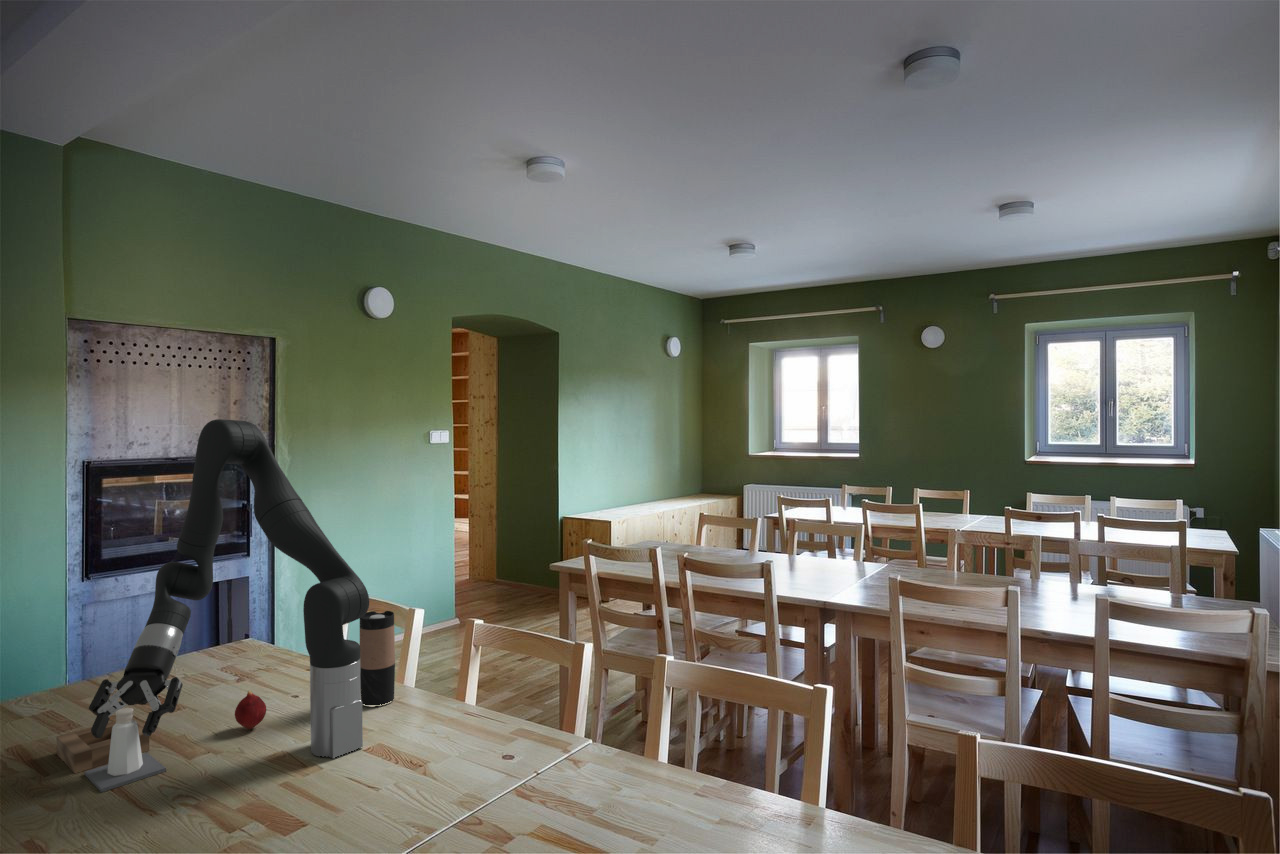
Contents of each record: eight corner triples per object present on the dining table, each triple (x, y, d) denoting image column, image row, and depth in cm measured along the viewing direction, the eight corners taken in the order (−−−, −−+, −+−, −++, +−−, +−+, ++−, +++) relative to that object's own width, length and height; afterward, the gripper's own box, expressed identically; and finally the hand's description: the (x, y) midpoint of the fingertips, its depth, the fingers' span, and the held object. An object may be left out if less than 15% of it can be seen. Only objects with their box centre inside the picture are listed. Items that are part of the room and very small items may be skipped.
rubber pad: (166, 771, 138) (165, 767, 138) (101, 792, 130) (101, 789, 130) (147, 755, 144) (147, 752, 144) (84, 774, 136) (84, 771, 136)
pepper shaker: (145, 769, 137) (144, 710, 137) (109, 779, 133) (108, 718, 133) (140, 759, 141) (140, 701, 141) (105, 768, 137) (104, 709, 137)
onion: (272, 724, 159) (271, 686, 158) (255, 735, 153) (255, 696, 153) (246, 722, 159) (245, 685, 159) (228, 734, 153) (228, 695, 153)
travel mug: (372, 710, 165) (371, 621, 165) (353, 702, 170) (352, 615, 170) (402, 700, 171) (401, 613, 171) (382, 692, 176) (381, 608, 176)
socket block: (149, 750, 146) (149, 732, 146) (74, 773, 137) (74, 754, 137) (129, 733, 154) (128, 717, 154) (56, 754, 144) (56, 736, 144)
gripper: (108, 644, 144) (69, 728, 132) (186, 642, 145) (154, 725, 134) (125, 663, 149) (89, 745, 138) (200, 660, 150) (170, 741, 139)
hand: (121, 735), depth 136 cm, fingers open, 8 cm apart
